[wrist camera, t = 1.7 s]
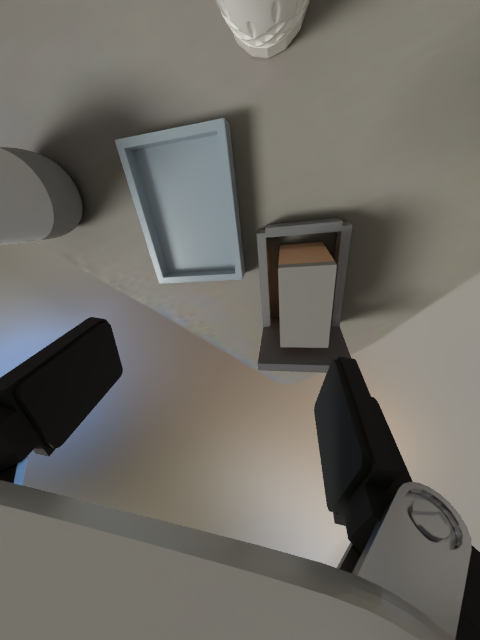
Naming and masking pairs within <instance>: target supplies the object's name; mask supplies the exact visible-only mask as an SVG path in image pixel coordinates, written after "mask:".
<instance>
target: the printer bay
mask: <svg viewBox="0 0 480 640" xmlns="http://www.w3.org/2000/svg"><path fill="white" fill-rule="evenodd" d="M352 226H353V225H351V224H350V223H348V222H343V221H342V220H341V219H339V218H331V219H321V220H311V221H300V222H290V223H280V224H269V225H266V228H265V229H264V230H258V232H257V247H258V261H259V275H260V288H261V302H262V316H263V333H262V340H261V346H260V353H259V359H258V370H268V371H297V372H325V373H327V372H328V369H329V366H330V364H331V361H332V360H333V359H334V360H337V358H338V357H346V358H351V356H350V354H349V351H348V348H347V346H346V343H345V340H344V338H343V335H342V332H341V330H340V320H341V312H342V304H343V296H344V289H345V281H346V273H347V265H348V257H349V250H350V242H351V234H352ZM327 232H337V234H336V244H335V254H334V261H335V263H336V264H337V268H336V278H335V287H334V297H333V307H332V316H331V326H330V336H329V345H328V348H302V347H280V318H271V299H270V279H269V260H268V240H267V238H268V237H280V236H292V235H304V234H315V233H327Z"/></svg>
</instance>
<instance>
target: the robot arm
mask: <svg viewBox="0 0 480 640" xmlns="http://www.w3.org/2000/svg"><path fill="white" fill-rule="evenodd" d="M122 370H123V369H122V365H121V361H120V357H119V354H118V350H117V346H116V343H115V339H114V335H113V332H112V328H111V325H110V324H109V323H108V322H107V320H105V319H101V318H94V317H90V318H88V319H86V320H85V321H84V322H82V323H81V324H79V325H78V326H76V327H75V328H73V329H72V330H70V331H69V332H67V333H66V334H64V335H63V336H62V337H60V338H59V339H57V340H56V341H54V342H53V343H51V344H50V345H48V346H47V347H45V348H44V349H43V350H41V351H39V352H38V353H36V354H35V355H33V356H32V357H30V358H29V359H27V360H26V361H25V362H23V363H22V364H20V365H19V366H17V367H16V368H14V369H13V370H11V371H10V372H8V373H7V374H5V375H4V376H2V377H1V378H0V640H480V552H479V551H478V550H476V549H475V548H474V547H473V546H472V545H471V537H470V534H469V532H468V529H467V527H466V525H465V523H464V521H463V520H462V518H461V516H460V515H459V514H458V512H457V511H456V510H455V509H454V507H453V506H452V505H451V504H450V503H449V502H448V501H447V500H446V499H445V498H444V497H442V496H441V495H440V494H439V493H437V492H436V491H434V490H433V489H431V488H430V487H428V486H425V485H423V484H420V483H416V482H412V479H411V477H410V475H409V472H408V470H407V468H406V466H405V463H404V461H403V459H402V456H401V454H400V452H399V449H398V447H397V445H396V443H395V440H394V438H393V436H392V434H391V431H390V429H389V426H388V424H387V422H386V420H385V417H384V415H383V413H382V410H381V408H380V406H379V404H378V402H377V400H376V399H375V398H374V397H371V396H370V393H369V391H368V388H367V386H366V383H365V381H364V379H363V376H362V374H361V371H360V369H359V367H358V364H357V362H356V360H355V359H352V358H346V357H338V358H337V360H334V359H333V360H332V361H331V364H330V366H329V369H328V372H327V374H326V377H325V380H324V382H323V385H322V387H321V390H320V393H319V395H318V398H317V401H316V403H315V409H314V411H315V421H316V428H317V435H318V443H319V449H320V457H321V465H322V472H323V479H324V487H325V494H326V501H327V507H328V509H329V511H331V512H333V514H334V521H335V523H336V524H340V525H344V526H346V529H347V534H348V539H349V540H350V542H351V543H350V545H349V547H348V548H347V550H346V552H345V554H344V556H343V557H342V559H341V561H340V563H339V565H338V567H337V568H334V567H331V566H329V565H326V564H323V563H320V562H316V561H312V560H309V559H305V558H302V557H298V556H294V555H291V554H287V553H284V552H280V551H277V550H273V549H269V548H266V547H262V546H259V545H255V544H251V543H247V542H243V541H240V540H235V539H232V538H228V537H224V536H220V535H216V534H212V533H208V532H205V531H201V530H197V529H193V528H189V527H185V526H181V525H177V524H173V523H169V522H165V521H161V520H157V519H154V518H150V517H146V516H142V515H138V514H134V513H130V512H126V511H122V510H118V509H114V508H110V507H106V506H102V505H98V504H94V503H90V502H86V501H82V500H78V499H74V498H70V497H67V496H62V495H58V494H54V493H50V492H46V491H42V490H38V489H34V488H30V487H26V486H23V481H24V475H25V470H26V464H27V458H28V455H29V453H30V452H31V451H32V450H33V451H34V452H35V453H36V454H41V455H45V456H50V454H52V452H53V451H54V450H55V449H56V448H58V447H60V446H61V445H62V444H63V443H64V442H65V441H66V440H67V439H68V438H69V436H70V435H71V434H72V433H73V432H74V431H75V429H76V428H77V427H78V426H79V425H80V423H81V422H82V421H83V420H84V419H85V418H86V416H87V415H88V414H89V413H90V412H91V410H92V409H93V408H94V407H95V406H96V405H97V404H98V402H99V401H100V400H101V399H102V398H103V397H104V395H105V394H106V393H107V392H108V391H109V389H110V388H111V387H112V386H113V385H114V384H115V382H116V381H117V380H118V379H119V378H120V376H121V375H122Z"/></svg>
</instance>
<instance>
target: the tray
mask: <svg viewBox="0 0 480 640" xmlns="http://www.w3.org/2000/svg"><path fill="white" fill-rule="evenodd" d="M115 144H116V147H117V150H118V153H119V156H120V160H121V163H122V166H123V169H124V172H125V175H126V179H127V182H128V185H129V188H130V191H131V195H132V198H133V201H134V204H135V207H136V211H137V214H138V217H139V220H140V223H141V227H142V230H143V233H144V236H145V239H146V243H147V246H148V249H149V252H150V255H151V259H152V262H153V265H154V268H155V271H156V275H157V278H158V281H159V283H180V282H201V281H221V280H242V279H243V277H244V275H245V264H244V255H243V245H242V236H241V227H240V217H239V208H238V198H237V189H236V179H235V170H234V160H233V151H232V141H231V132H230V124H229V123H228V122H227V121H226V120H225V118H221V119H216V120H211V121H206V122H201V123H196V124H191V125H186V126H181V127H176V128H171V129H166V130H161V131H156V132H151V133H146V134H141V135H137V136H132V137H127V138H122V139H117V140H115Z"/></svg>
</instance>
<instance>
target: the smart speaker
mask: <svg viewBox="0 0 480 640" xmlns="http://www.w3.org/2000/svg"><path fill="white" fill-rule="evenodd" d="M82 211H83V207H82V200H81V197H80V194H79V191H78V189H77V187H76V185H75V184H74V182H73V180H72V179H71V178H70V176H69V175H68V174H67V173H66V172H65V171H64V170H63V169H62V168H61V167H60V166H59V165H57V164H56V163H55V162H53V161H51V160H50V159H48V158H46V157H44V156H42V155H40V154H37V153H34V152H31V151H28V150H23V149H17V148H6V147H0V245H4V244H12V243H21V242H30V241H39V240H45V239H51V238H56V237H59V236H62V235H65V234H67V233H69V232H70V231H72V230H73V229H74V228H75V227H76V226H77V225H78V224H79V222H80V220H81V217H82Z"/></svg>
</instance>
